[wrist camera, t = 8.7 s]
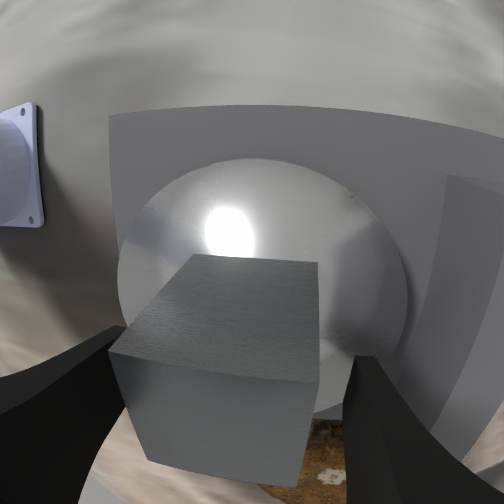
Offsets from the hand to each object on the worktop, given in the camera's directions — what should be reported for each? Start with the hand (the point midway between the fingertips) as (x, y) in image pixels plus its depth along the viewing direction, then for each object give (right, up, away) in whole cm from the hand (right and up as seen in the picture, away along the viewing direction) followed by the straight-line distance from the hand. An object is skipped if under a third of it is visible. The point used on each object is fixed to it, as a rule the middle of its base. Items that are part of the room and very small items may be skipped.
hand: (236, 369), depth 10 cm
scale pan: (+1, +1, +4) cm, 4 cm away
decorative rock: (+7, -14, +12) cm, 20 cm away
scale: (+3, +2, +6) cm, 7 cm away
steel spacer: (+1, +1, +3) cm, 3 cm away
